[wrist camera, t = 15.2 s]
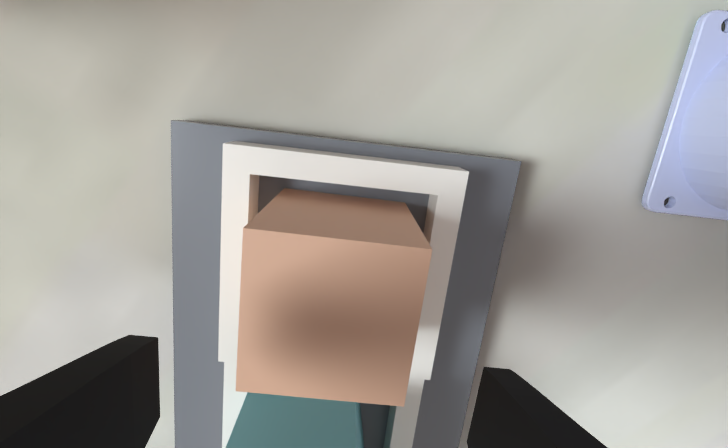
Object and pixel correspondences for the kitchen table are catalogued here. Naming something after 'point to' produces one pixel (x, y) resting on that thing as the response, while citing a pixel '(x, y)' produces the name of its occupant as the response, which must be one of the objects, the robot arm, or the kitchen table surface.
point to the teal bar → (296, 423)
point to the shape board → (343, 177)
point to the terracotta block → (330, 298)
